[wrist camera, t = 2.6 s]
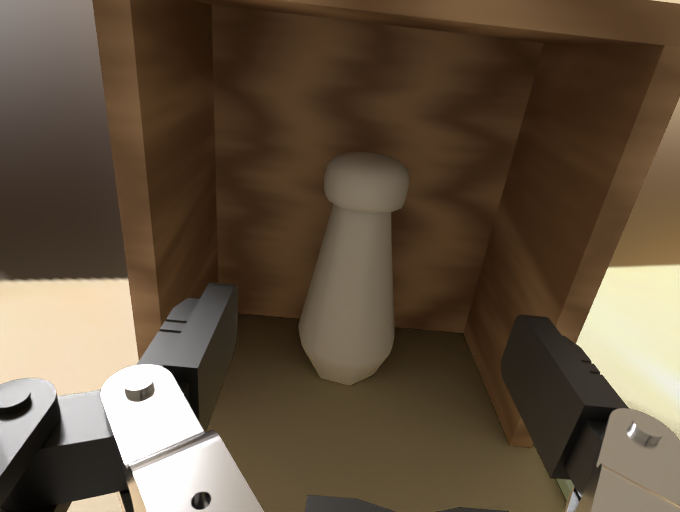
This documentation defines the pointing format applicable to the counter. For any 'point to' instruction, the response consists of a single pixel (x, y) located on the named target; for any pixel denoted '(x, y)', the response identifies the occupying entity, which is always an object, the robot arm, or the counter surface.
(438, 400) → the counter surface
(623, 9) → the cubby
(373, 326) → the salt shaker
